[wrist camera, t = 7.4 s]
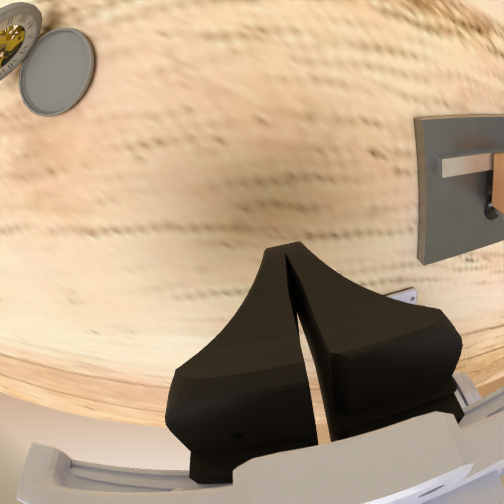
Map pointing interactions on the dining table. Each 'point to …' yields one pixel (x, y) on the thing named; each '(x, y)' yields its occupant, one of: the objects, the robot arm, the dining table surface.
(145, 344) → the dining table surface
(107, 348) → the dining table surface
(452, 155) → the bolt plate
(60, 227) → the dining table surface
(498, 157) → the orange block
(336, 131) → the dining table surface
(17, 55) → the pocket watch
